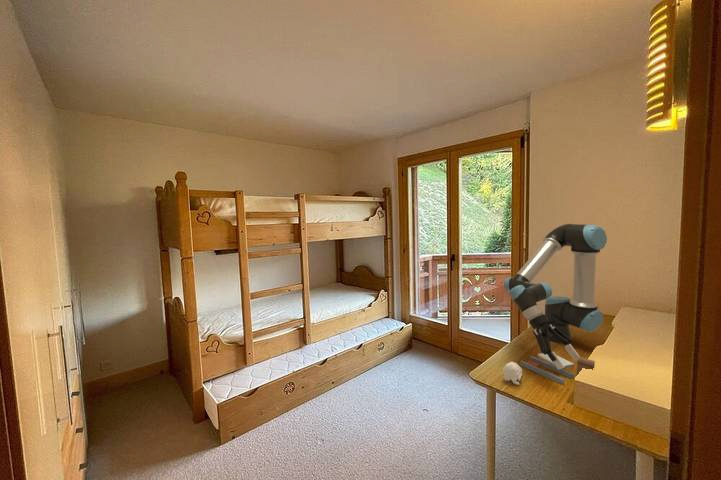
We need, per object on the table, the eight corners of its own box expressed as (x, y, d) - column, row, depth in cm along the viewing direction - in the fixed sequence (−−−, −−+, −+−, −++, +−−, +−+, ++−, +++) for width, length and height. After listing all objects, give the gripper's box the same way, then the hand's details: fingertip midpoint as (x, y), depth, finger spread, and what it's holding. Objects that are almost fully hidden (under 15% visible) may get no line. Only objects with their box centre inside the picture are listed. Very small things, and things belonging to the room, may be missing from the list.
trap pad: (530, 361, 140) (530, 360, 140) (539, 365, 137) (539, 364, 136) (523, 364, 137) (523, 363, 137) (532, 368, 134) (532, 367, 134)
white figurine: (502, 362, 123) (511, 354, 132) (500, 381, 123) (510, 373, 132) (518, 367, 119) (527, 359, 127) (517, 388, 119) (525, 378, 127)
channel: (531, 359, 142) (531, 355, 141) (573, 378, 126) (574, 373, 126) (520, 365, 137) (520, 361, 136) (562, 384, 121) (563, 380, 121)
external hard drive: (561, 370, 134) (537, 356, 145) (574, 367, 136) (549, 354, 148) (561, 366, 133) (537, 353, 145) (574, 363, 136) (550, 351, 148)
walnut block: (577, 381, 124) (579, 356, 123) (592, 386, 120) (594, 361, 119) (575, 386, 120) (577, 361, 119) (590, 391, 117) (593, 365, 115)
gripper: (544, 316, 141) (576, 359, 130) (513, 326, 129) (546, 375, 118) (557, 308, 136) (592, 353, 125) (526, 318, 124) (562, 369, 113)
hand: (570, 364), depth 121 cm, fingers open, 13 cm apart
